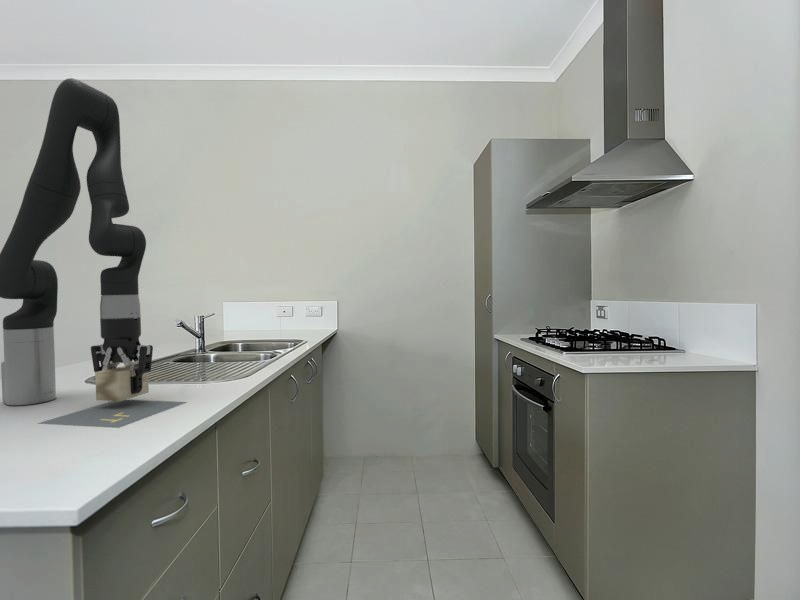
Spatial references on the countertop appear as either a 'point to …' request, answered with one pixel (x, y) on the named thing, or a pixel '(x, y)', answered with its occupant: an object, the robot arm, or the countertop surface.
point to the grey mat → (114, 413)
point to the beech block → (117, 384)
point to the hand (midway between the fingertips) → (123, 392)
